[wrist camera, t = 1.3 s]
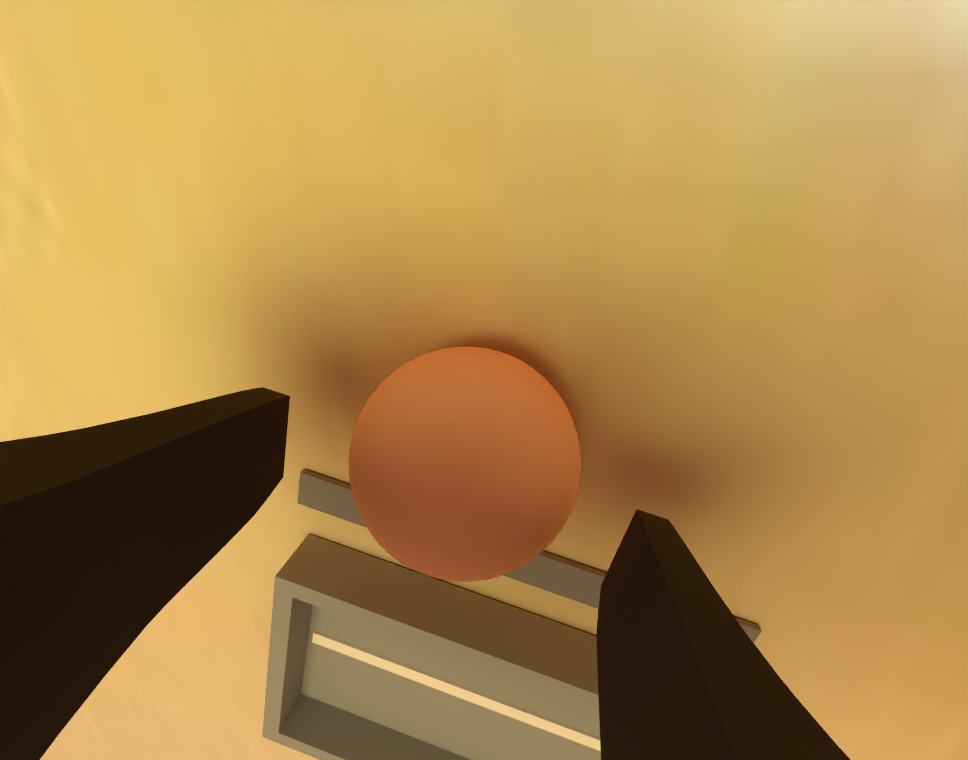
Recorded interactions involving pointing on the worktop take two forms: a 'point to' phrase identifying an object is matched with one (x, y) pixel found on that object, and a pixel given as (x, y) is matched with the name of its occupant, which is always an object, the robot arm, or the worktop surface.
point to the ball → (464, 464)
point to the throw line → (537, 572)
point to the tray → (420, 668)
